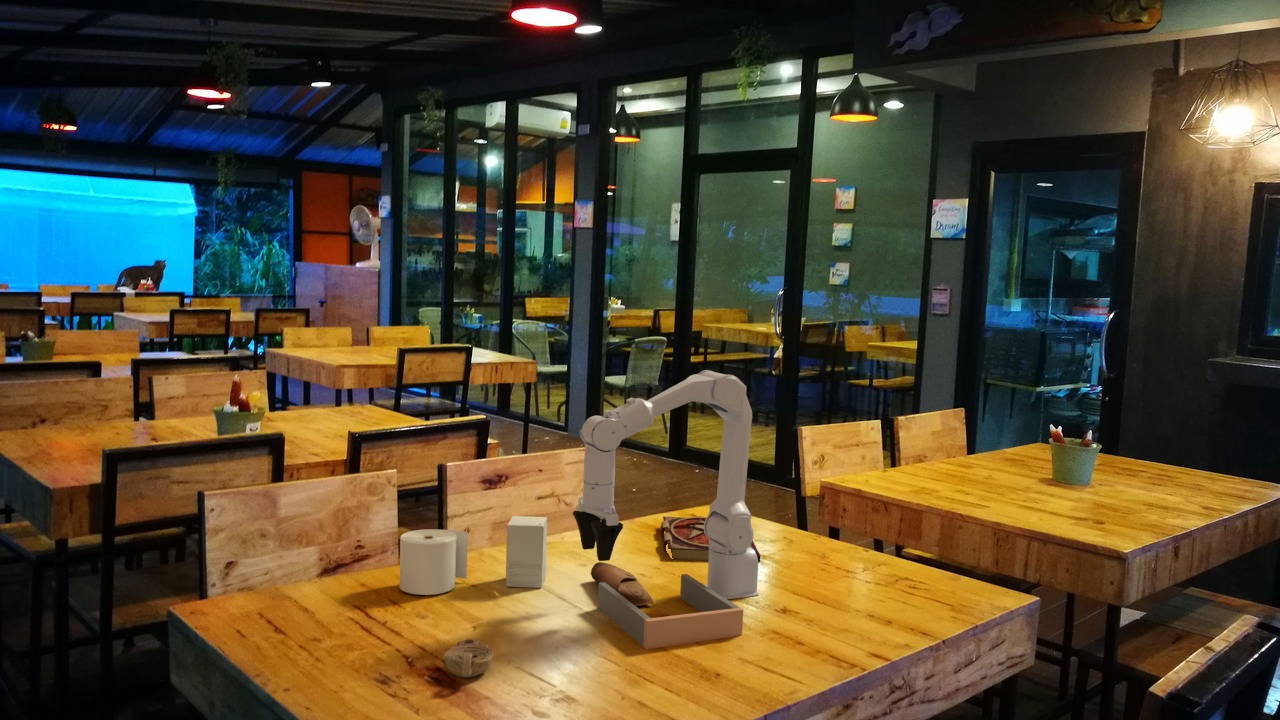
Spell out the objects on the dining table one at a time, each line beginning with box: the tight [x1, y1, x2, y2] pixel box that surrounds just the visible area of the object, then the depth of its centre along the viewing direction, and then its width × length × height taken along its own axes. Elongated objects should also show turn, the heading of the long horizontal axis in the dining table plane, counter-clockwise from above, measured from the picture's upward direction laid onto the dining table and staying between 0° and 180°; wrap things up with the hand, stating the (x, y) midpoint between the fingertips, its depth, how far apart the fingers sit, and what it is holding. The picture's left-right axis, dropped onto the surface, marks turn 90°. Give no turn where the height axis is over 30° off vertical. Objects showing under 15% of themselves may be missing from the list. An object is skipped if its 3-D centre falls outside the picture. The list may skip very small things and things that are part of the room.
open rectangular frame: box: [597, 573, 744, 650], centre depth 174 cm, size 18×21×5 cm
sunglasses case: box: [590, 561, 654, 608], centre depth 188 cm, size 18×7×7 cm
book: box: [660, 516, 761, 563], centre depth 227 cm, size 28×21×5 cm
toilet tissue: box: [398, 528, 469, 596], centre depth 188 cm, size 11×12×10 cm
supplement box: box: [505, 515, 548, 589], centre depth 193 cm, size 7×7×13 cm
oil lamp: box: [443, 638, 494, 678], centre depth 149 cm, size 13×8×5 cm, turn 5°
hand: (595, 554), depth 179 cm, fingers open, 7 cm apart
